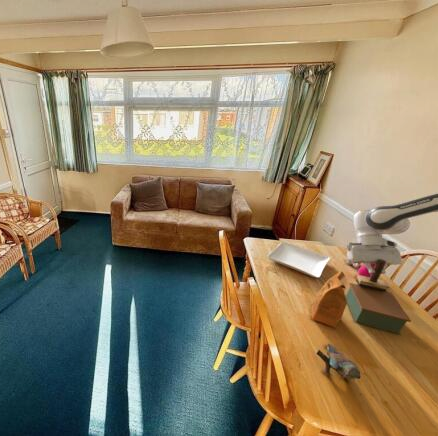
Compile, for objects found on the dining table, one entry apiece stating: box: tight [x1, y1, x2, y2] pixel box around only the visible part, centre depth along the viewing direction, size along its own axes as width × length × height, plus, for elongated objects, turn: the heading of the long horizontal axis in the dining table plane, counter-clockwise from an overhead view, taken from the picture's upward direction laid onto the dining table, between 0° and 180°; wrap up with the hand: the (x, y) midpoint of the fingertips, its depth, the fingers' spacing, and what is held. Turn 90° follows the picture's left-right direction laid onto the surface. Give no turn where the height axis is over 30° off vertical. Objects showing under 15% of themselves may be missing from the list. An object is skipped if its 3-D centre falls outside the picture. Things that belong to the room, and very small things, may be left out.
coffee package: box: [310, 270, 348, 328], centre depth 97 cm, size 10×12×22 cm
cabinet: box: [345, 282, 412, 334], centre depth 101 cm, size 16×17×8 cm
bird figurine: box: [315, 343, 362, 380], centre depth 78 cm, size 13×10×20 cm
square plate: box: [266, 241, 331, 278], centre depth 138 cm, size 27×27×4 cm
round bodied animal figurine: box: [344, 253, 362, 269], centre depth 132 cm, size 7×12×8 cm, turn 146°
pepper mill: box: [357, 263, 375, 277], centre depth 119 cm, size 7×7×20 cm
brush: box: [355, 259, 390, 292], centre depth 103 cm, size 10×5×14 cm, turn 64°
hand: (377, 273), depth 103 cm, fingers closed on brush, 3 cm apart
